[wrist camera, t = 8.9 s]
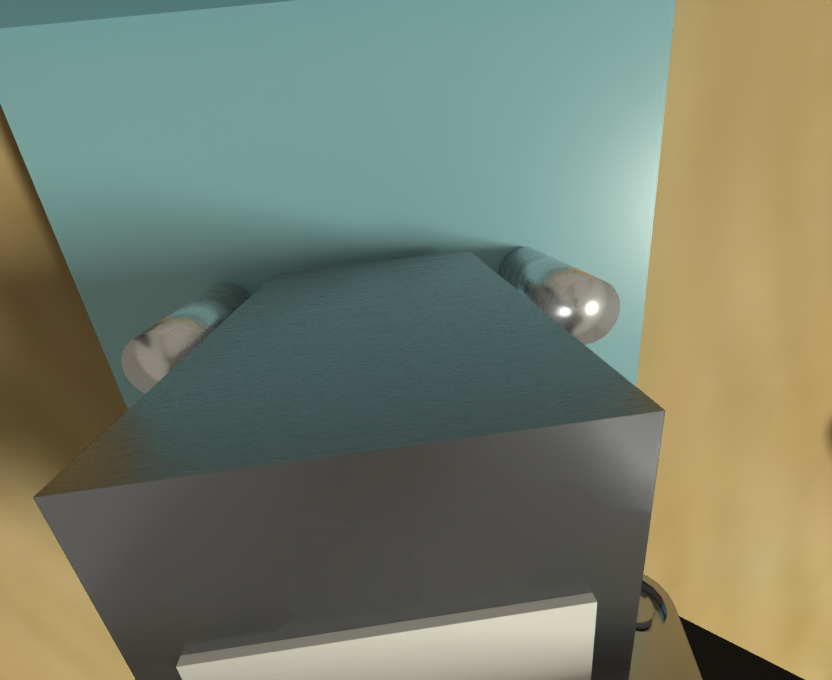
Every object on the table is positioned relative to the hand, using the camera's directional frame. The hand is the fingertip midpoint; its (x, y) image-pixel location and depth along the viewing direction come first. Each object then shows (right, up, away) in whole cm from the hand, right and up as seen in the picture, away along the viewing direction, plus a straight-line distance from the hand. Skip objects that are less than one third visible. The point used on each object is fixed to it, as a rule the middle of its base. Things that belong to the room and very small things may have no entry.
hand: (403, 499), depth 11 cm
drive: (0, +1, +2) cm, 2 cm away
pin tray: (0, +1, +4) cm, 4 cm away
